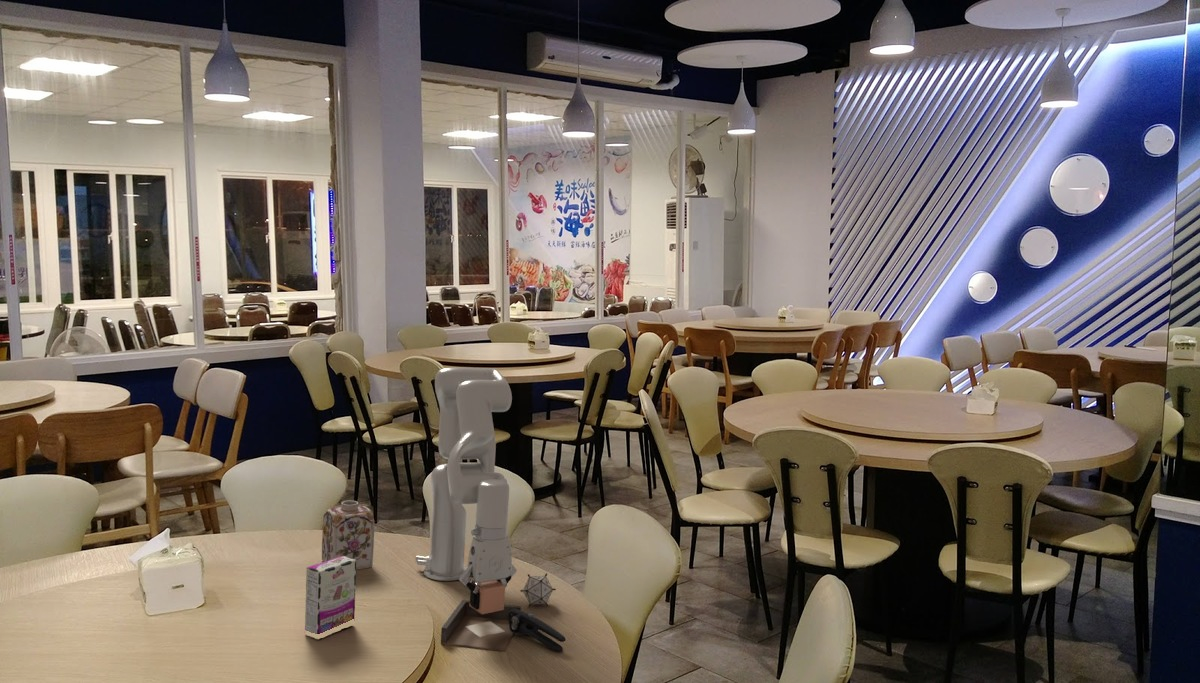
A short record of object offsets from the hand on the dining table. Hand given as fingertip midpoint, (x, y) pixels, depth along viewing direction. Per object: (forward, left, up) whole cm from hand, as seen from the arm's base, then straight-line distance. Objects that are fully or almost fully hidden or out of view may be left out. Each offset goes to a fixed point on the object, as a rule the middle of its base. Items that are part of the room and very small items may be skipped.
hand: (486, 604), depth 215 cm
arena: (-1, -1, -7) cm, 7 cm away
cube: (0, 0, -1) cm, 1 cm away
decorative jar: (-49, +34, -7) cm, 60 cm away
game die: (+9, +20, -7) cm, 23 cm away
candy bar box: (-35, -10, -7) cm, 37 cm away
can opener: (+13, -2, -7) cm, 15 cm away
